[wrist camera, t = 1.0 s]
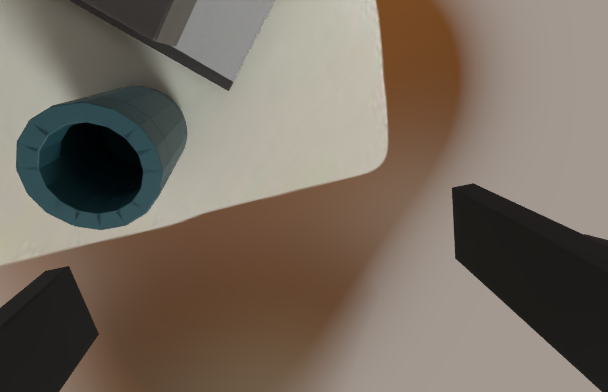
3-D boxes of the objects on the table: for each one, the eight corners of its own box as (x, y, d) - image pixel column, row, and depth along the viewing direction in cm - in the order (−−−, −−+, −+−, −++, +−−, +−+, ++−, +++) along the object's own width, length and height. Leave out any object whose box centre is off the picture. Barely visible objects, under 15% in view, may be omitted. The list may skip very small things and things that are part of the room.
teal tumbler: (78, 114, 33) (-19, 149, 20) (151, 69, 33) (100, 75, 20) (136, 183, 36) (85, 250, 24) (203, 142, 36) (188, 188, 23)
